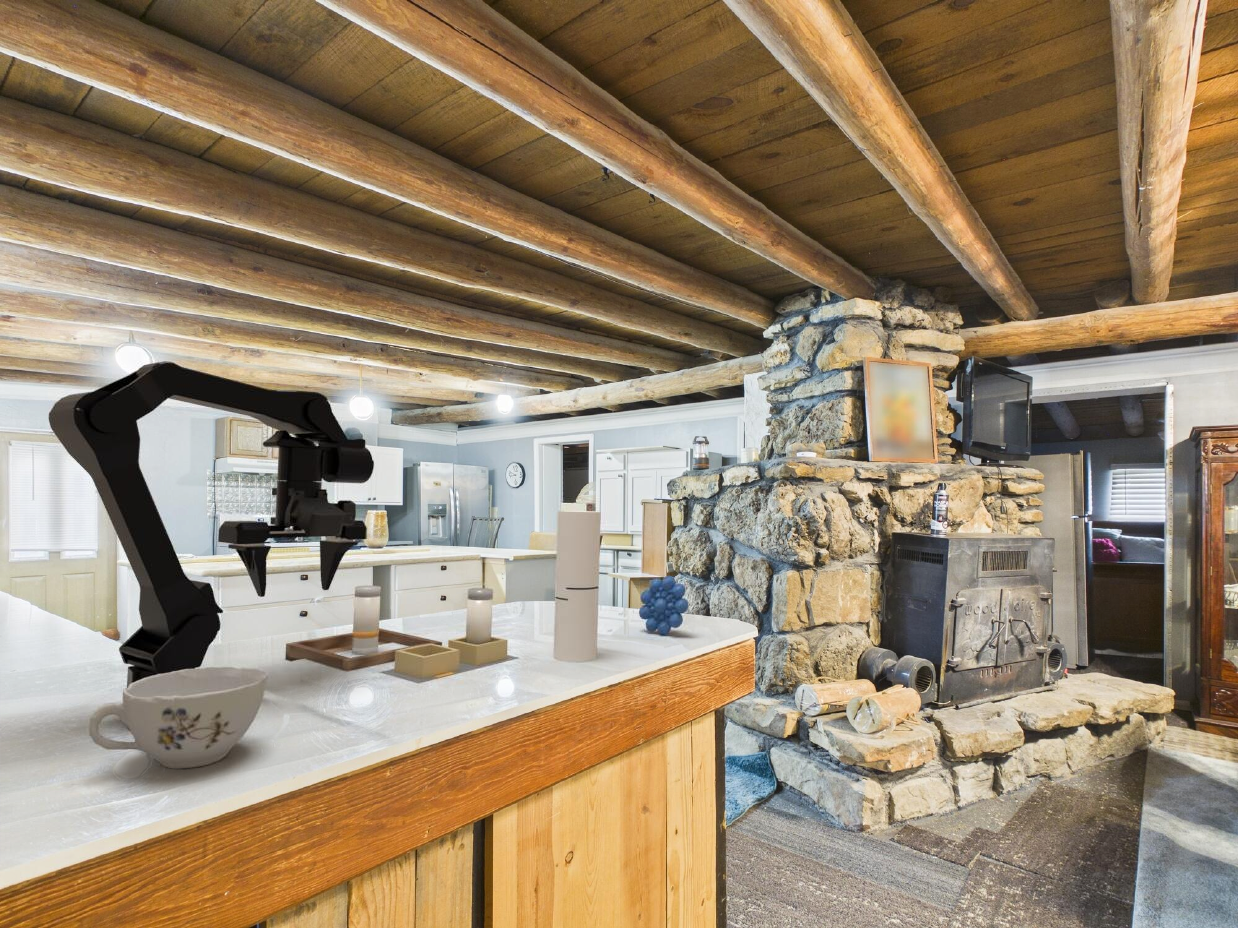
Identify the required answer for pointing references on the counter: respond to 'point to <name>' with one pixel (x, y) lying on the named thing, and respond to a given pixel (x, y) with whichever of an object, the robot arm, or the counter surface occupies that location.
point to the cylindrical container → (577, 586)
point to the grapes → (663, 605)
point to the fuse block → (447, 659)
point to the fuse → (479, 616)
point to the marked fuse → (366, 620)
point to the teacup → (186, 714)
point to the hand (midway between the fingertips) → (294, 593)
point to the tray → (327, 646)
